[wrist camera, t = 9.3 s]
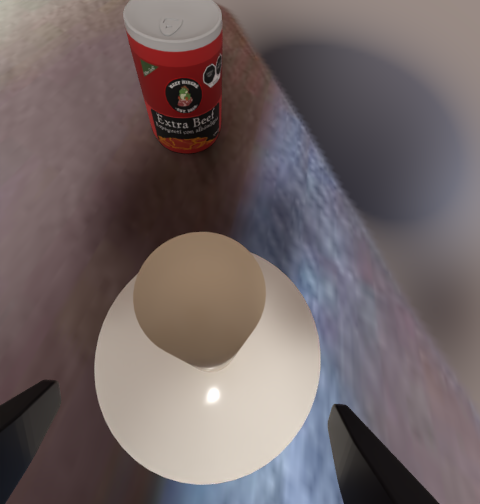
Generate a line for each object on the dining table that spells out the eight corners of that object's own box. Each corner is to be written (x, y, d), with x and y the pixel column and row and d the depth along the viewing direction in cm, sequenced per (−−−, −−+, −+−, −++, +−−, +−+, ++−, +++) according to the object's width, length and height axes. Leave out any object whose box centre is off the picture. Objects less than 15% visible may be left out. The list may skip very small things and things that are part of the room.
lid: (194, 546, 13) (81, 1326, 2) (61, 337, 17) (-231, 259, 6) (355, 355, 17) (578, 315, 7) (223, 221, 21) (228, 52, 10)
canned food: (154, 158, 29) (121, 43, 19) (151, 107, 32) (122, -15, 22) (226, 153, 30) (230, 41, 20) (216, 104, 33) (215, -14, 23)
